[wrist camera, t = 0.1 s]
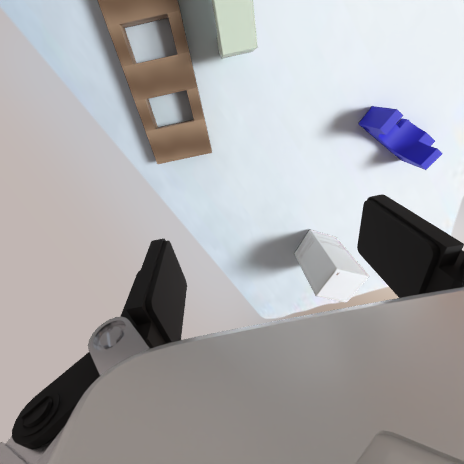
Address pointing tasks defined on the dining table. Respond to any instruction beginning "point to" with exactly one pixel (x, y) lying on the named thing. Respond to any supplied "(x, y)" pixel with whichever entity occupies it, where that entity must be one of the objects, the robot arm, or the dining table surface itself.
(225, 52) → the tall sage green block
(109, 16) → the brown wooden board
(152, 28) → the dining table surface
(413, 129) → the cable clip
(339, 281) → the supplement box
